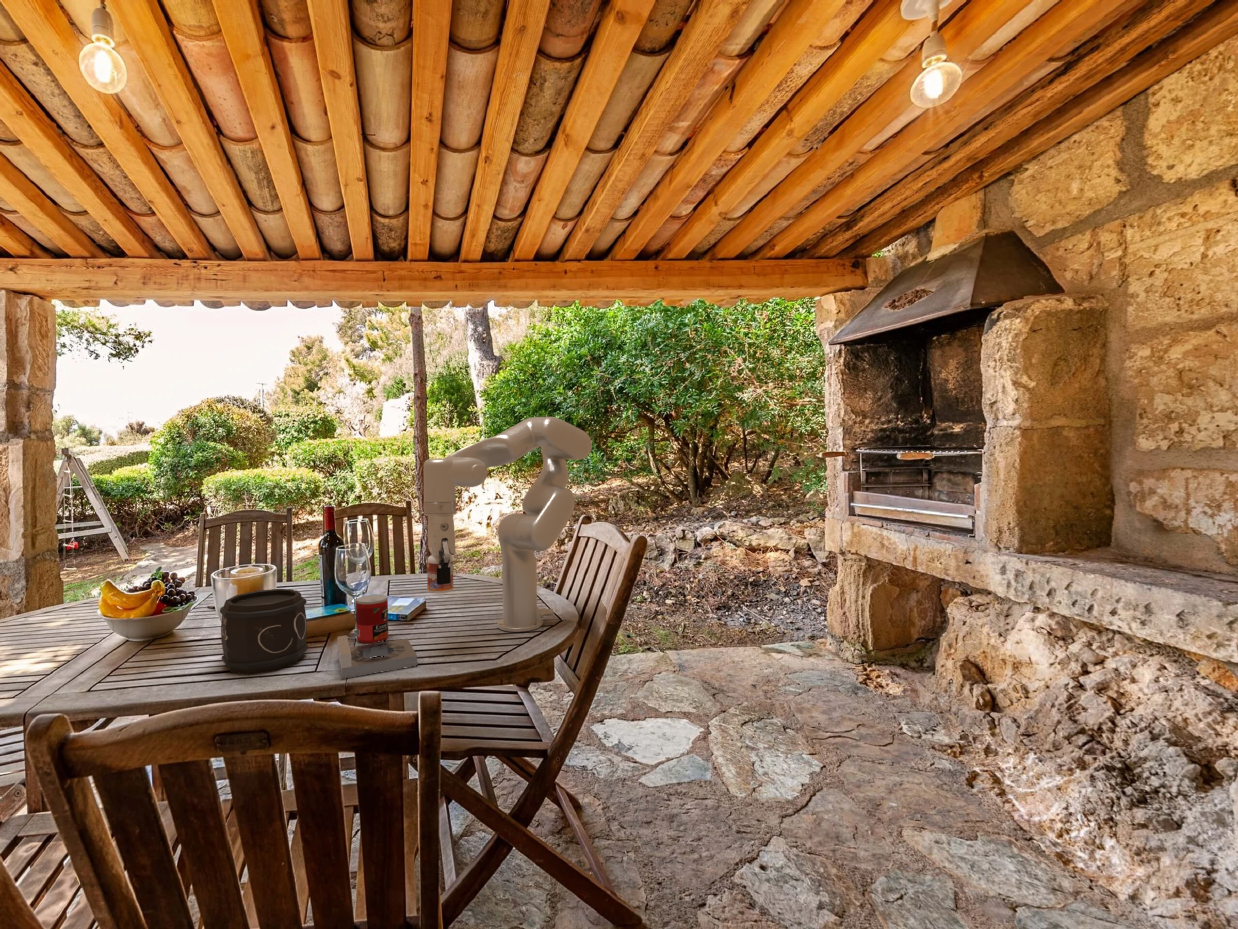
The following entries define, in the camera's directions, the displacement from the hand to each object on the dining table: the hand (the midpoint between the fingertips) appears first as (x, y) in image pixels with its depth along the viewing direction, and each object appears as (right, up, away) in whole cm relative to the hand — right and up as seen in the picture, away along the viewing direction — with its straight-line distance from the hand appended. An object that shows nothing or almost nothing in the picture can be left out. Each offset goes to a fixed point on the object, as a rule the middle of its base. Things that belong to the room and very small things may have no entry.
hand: (440, 580), depth 151 cm
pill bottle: (0, -3, 0) cm, 3 cm away
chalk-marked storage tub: (-40, -19, -5) cm, 44 cm away
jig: (-13, -18, -7) cm, 23 cm away
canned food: (-21, -18, +10) cm, 29 cm away
